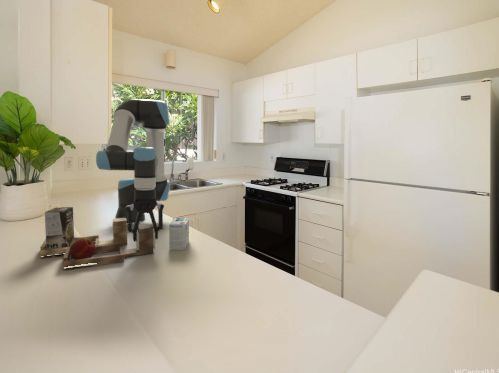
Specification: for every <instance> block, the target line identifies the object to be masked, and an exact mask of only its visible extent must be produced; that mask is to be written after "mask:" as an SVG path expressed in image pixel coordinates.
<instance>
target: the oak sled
mask: <svg viewBox="0 0 499 373" xmlns="http://www.w3.org/2000/svg"><path fill="white" fill-rule="evenodd" d="M112 231H113V232H112V234H113V235H112V237H113V239H109V240H108V239H107V240H100V236H99V234H96V235H94V234H93V235H86V236H85V235H84V236H74V240H75V242H76V241H77V240H80V239H88V240H90V241H92V242H93V243H94V245H95V246H98V245H107V244H116V243H122V246H123V245H128V223H127V219H126V218H116V219H115V218H113V219H112ZM66 249H67V247H66V248H57V249H48V250H47V249H46V238H45V239H44V241H43V242H42V244H41V246H40V251H39V257H40V256H47V255H55V254H63V253H65V252H66Z"/></svg>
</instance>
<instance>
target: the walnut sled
mask: <svg viewBox="0 0 499 373" xmlns="http://www.w3.org/2000/svg"><path fill="white" fill-rule="evenodd" d="M153 230H154V227H153V224H142V225H141V224H139V226H138V230H137V232H139V250H137V248H136V247H135V248H126V249H124V248H123V245H122V243H116V244H107V245H98V246H95V247H96V248H95V252H94V254H99V253H104V252H106V253H107V252H113V251H119V253H118V254H116V253H115V254H110V255H109V254H107V255H102V256H92V257H91V258H85V259H77V260H74V259H70V257H71V258H72V256H71V254H70V252H69V250H70V247H67V249H66V252H65V254H64V255H63V258H62V259H63V262H62V267H68V266H75V265H81V264H88V263H97V264H98V265H97V266H99V265H107V264H114V263H121V262H125V257H132V256H142V255H148V254H154V253H155V251H154V249H155V248H154V241H153Z"/></svg>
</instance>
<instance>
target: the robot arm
mask: <svg viewBox="0 0 499 373" xmlns="http://www.w3.org/2000/svg"><path fill="white" fill-rule="evenodd" d="M112 118H113V119H112V120H113V123H112V124H113V125H112V127H111V131H110V133H109V137H108V140H107V144H106V147H105V149H104V150H98V151H97V153H96V157H95V160H96V161H95V163H96V166H97V168H98V169H99V170H102V171H133V173H134V175H133V177H129V178H123V179H120V180H118V184H117V194H118V195H117V197H118V198H117V199H118V201H117V204H118V208H117V210H116V214H115V216H114V219H116V218H126V219H127V233H132V240H133V242H135V244H136V246H135V248H137V250H139V232H138V226H139V225H140V222H144V221H145V220H146V214H148V215H149V217H150V220H151V221H150V222H151V223H152V224H151V225H152V226H153V241H154V249H156V240H157V239H158V238H159V231H160V230H163V229H164V223H163V222H164V221H163V220H164V218H163V211H164V207H165V205H164V204H163V203H161V202H164V201H168V199H169V192H170V184H171V181H170V179H168V176H167V175H166V174H165V136H164V134H165V133H164V131H166V130H167V127H168V126H169V125H170V115H169V108H168V104H167V102H165V101H163V100H156V99H141V98H140V99H139V98H131V99H128V100H126V101H124V102H122V103H121V104H119V106H117V107H116V109H115V110H114V113H113V117H112ZM135 124H142V128H143V129H144V130H145V133H146V134H145V136H146V138H145V139H146V146H145V147H144V146H143V147H142V146H135V147H134V149H133V151H127V150H128V144H129V139H130V136H131V130H132V126H134V125H135ZM159 202H160V203H159ZM156 207H157V209H158V214H157V215H158V220H157V221H158V225H157V222H156V218H155V214H154V209H156ZM133 224H134V225H133ZM132 225H133V226H132ZM132 227H133V228H132Z"/></svg>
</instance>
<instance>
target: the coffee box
mask: <svg viewBox="0 0 499 373" xmlns="http://www.w3.org/2000/svg"><path fill="white" fill-rule="evenodd" d="M74 220H75V219H74V206H66V207H64V206H61V207H54V208H52V209H49V210H47V211H44V224H45V229H44V230H45V239H46V249H47V250H48V249H57V248H66V247H71V245H72V244H73V243H74V242H75V240H74V237H75V226H74V225H75V224H74V223H75V222H74Z"/></svg>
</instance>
